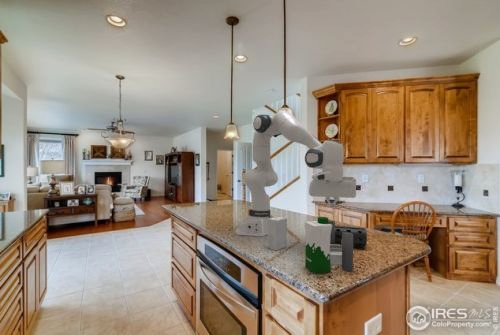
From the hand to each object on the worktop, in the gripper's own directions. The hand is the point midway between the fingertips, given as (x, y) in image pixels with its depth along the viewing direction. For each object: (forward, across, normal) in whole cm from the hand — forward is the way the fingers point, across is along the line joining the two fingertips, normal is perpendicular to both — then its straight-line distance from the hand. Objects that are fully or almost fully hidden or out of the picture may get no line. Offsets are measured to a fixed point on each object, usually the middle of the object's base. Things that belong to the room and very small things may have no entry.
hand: (331, 207), depth 106 cm
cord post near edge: (+22, -3, +14) cm, 26 cm away
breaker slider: (+18, -6, +2) cm, 19 cm away
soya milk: (+22, +9, +14) cm, 28 cm away
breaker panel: (+22, 0, +2) cm, 22 cm away
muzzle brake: (+23, -8, -18) cm, 30 cm away
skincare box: (+23, +23, -10) cm, 34 cm away
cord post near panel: (+22, -2, -8) cm, 24 cm away
